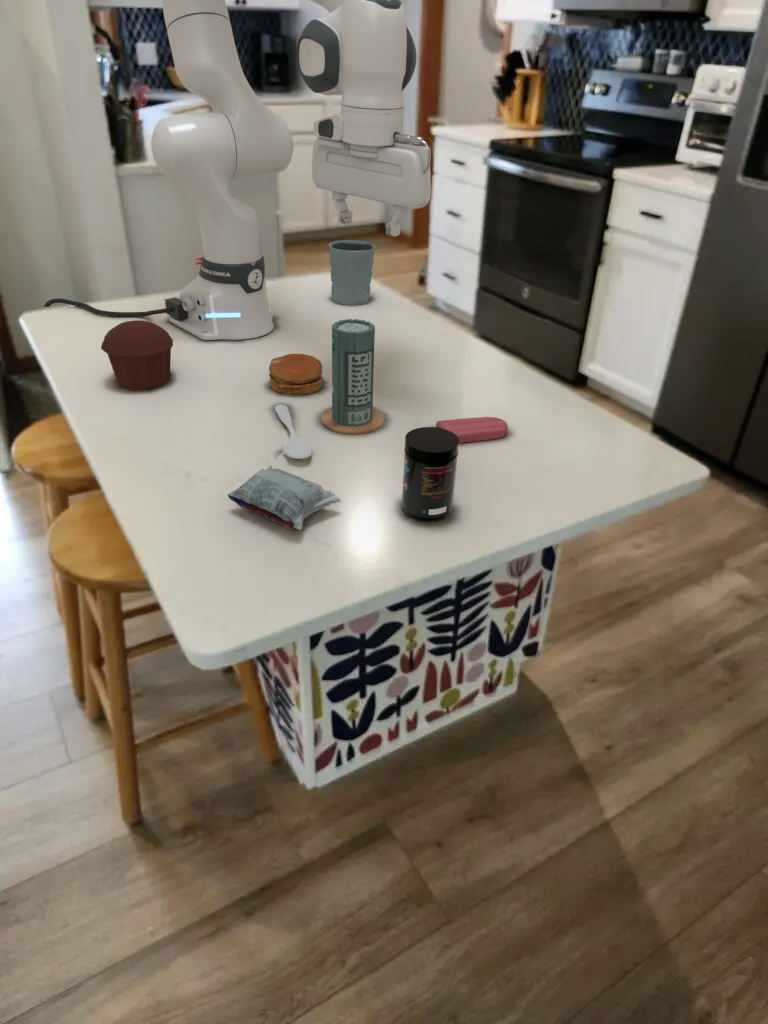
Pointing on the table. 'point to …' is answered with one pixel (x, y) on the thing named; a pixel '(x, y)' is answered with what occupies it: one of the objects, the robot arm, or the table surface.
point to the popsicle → (475, 428)
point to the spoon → (292, 437)
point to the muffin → (139, 354)
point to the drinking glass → (351, 271)
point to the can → (352, 371)
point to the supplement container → (429, 473)
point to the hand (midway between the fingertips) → (368, 229)
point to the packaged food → (282, 497)
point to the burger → (295, 374)
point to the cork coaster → (369, 427)
